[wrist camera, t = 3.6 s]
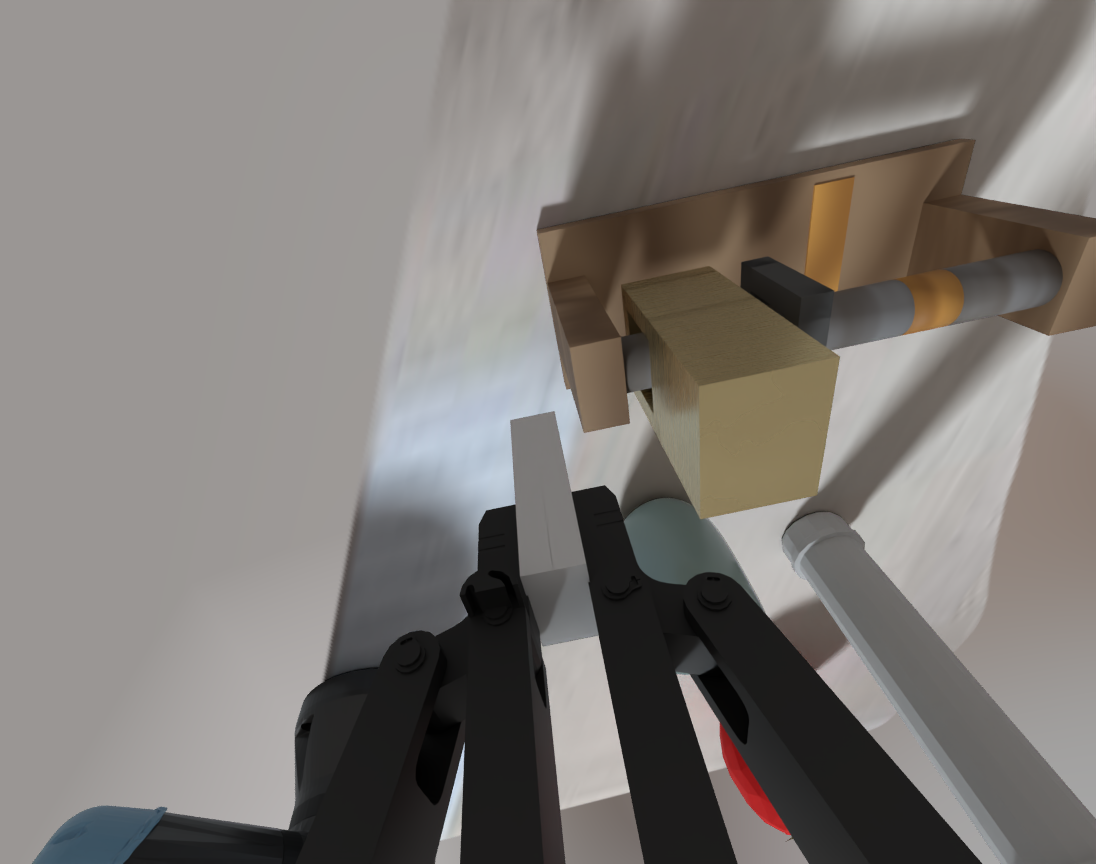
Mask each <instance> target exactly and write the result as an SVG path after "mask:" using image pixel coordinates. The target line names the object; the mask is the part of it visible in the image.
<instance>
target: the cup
mask: <svg viewBox="0 0 1096 864" xmlns="http://www.w3.org/2000/svg"><path fill="white" fill-rule="evenodd" d="M624 523H625V527H626V530H627V533H628V536H629V539H630V542H631V545H632V548H633V552H634V555H635V558H636V561H637V563H638V565H639V567H640V569H641V570H642V571H643V572H644V573H645V574H646V575H648V576H649V577H651V578H652V579H655V580H657V581H660V582H665V583H672V584H683V585H686V584H687V582H688V580H690V579H691V578H692V577H694V576H695V575H697V574H701V573H705V572H716V573H721V574H724V575H727V576H729V577H731V578H733V579H734V580H735V581H736V582H737V583H739V584H740V585H741V586H742V587H743V588H744V590H745V591H746V592H747V593H748V594H749V595H750V597H751V598H752V599H753V600H754V601H755V602H756V603H757V605H758V606H759V607H760V608H761V609H762V610H763V612H764V613H765V611H764V608H763V606H762V604H761V602H760V600H759V598H758V596H757V594H756V593H755V591H754V589H753V587H752V585H751V584H750V582H749V580H748V578H747V576H746V575H745V573H744V571H743V569H742V568H741V566H740V564H739V562H738V561H737V559H736V557H735V556H734V554H733V552H732V551H731V549H730V547H729V546H728V544H727V542H726V541H725V539H724V538H723V536H722V535H721V533H720V532H719V531H718V529H717V528H716V527H715V525H714V524H713V523H712V522H711V521H710V520H709V519H708V518H704V519H700V518H699V516H698V514H697V512H696V510H695V508H694V506H693V505H691V504H689V503H687V502H685V501H682V500H680V499H675V498H658V499H654V500H651V501H648V502H646V503H644V504H642V505H640V506H639V507H638V508H636V509H635V510H634V511H633V512H631V513H630V514H629V515H628V516H627V518H626V519H625V520H624ZM676 674H684V675H687V674H689V673H682V672H676Z"/></svg>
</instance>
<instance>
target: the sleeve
mask: <svg viewBox="0 0 1096 864" xmlns="http://www.w3.org/2000/svg"><path fill="white" fill-rule="evenodd" d="M621 291H622V301H623V311H624V321H625V332H626V336H628V335H632V334H637V333H642V332H643V334H644V335H645V336H646V338H647V339H648V341H649V354H650V368H651V382H652V388H649V389H644V390H639V391H635V392H634V393H635V395H636V397H637V399H638V401H639V403H640V404H641V406H642V408H643V410H644V412H645V414H646V416H647V418H648V420H649V422H650V424H651V426H652V427H653V429H654V431H655V433H656V435H657V437H658V439H659V441H660V443H661V445H662V447H663V449H664V451H665V452H666V454H667V456H668V458H669V460H670V462H671V464H672V466H673V468H674V470H675V472H676V474H677V475H678V477H679V479H680V481H681V483H682V485H683V487H684V489H685V491H686V493H687V495H688V497H689V498H690V500H691V502H692V504H693V506H694V508H695V510H696V512H697V514H698V516H699V518H700V519H704V518H709V517H714V516H719V515H724V514H729V513H734V512H738V511H743V510H748V509H753V508H758V507H763V506H767V505H772V504H777V503H782V502H787V501H792V500H797V499H801V498H806V497H811V496H816V495H817V492H818V486H819V480H820V474H821V468H822V462H823V456H824V450H825V444H826V438H827V432H828V426H829V420H830V414H831V408H832V402H833V396H834V390H835V384H836V378H837V372H838V365H839V359H840V356H838V355H837V354H835V353H834V352H832V351H831V350H830V349H828V348H827V347H825V346H824V345H822V344H821V343H820V342H818V341H817V340H815V339H814V338H812V337H811V336H809V335H808V334H807V333H805V332H804V331H802V330H801V329H799V328H798V327H797V326H795V325H794V324H792V323H791V322H789V321H788V320H787V319H785V318H784V317H782V316H781V315H779V314H778V313H776V312H775V311H774V310H772V309H771V308H769V307H768V306H766V305H765V304H764V303H762V302H761V301H759V300H758V299H756V298H755V297H754V296H752V295H751V294H749V293H748V292H746V291H745V290H743V289H742V288H741V287H739V286H738V285H736V284H735V283H733V282H732V281H731V280H729V279H728V278H726V277H725V276H723V275H722V274H721V273H719V272H718V271H716V270H715V269H713V268H712V267H711V266H706V267H701V268H696V269H692V270H687V271H682V272H678V273H673V274H668V275H664V276H659V277H654V278H649V279H645V280H640V281H635V282H631V283H626V284H621Z"/></svg>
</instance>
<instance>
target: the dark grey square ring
mask: <svg viewBox="0 0 1096 864" xmlns="http://www.w3.org/2000/svg"><path fill="white" fill-rule="evenodd" d="M740 287H741V288H742V289H743V290H745V291H746V292H748V293H749V294H751V295H752V296H754V297H755V298H756V299H758V300H759V301H761V302H762V303H764V304H765V305H766V306H769V305H772V306H773V307H775V308H776V309H778V310H779V311H781V312H782V313H783V314H785V319H787V320H788V321H789V322H791V323H792V324H794V325H795V326H797V327H798V328H799V329H801V330H802V331H804V332H805V333H807V334H808V335H809V336H811V337H812V338H814V339H815V340H817V341H818V342H820V343H821V344H822V345H824V346H825V347H826V345H827V339H828V332H829V325H830V318H831V311H832V305H833V298H834V290H832V289H830V288H828V287H827V286H825V285H823V284H821V283H819V282H817V281H815V280H813V279H811V278H809V277H807V276H805V275H803V274H801V273H799V272H798V271H796V270H794V269H792V268H790V267H788V266H786V265H784V264H782V263H780V262H778V261H776V260H774V259H772V258H771V257H769V256H767V257H762V258H758V259H753V260H748V261H743V262H741V285H740Z"/></svg>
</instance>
